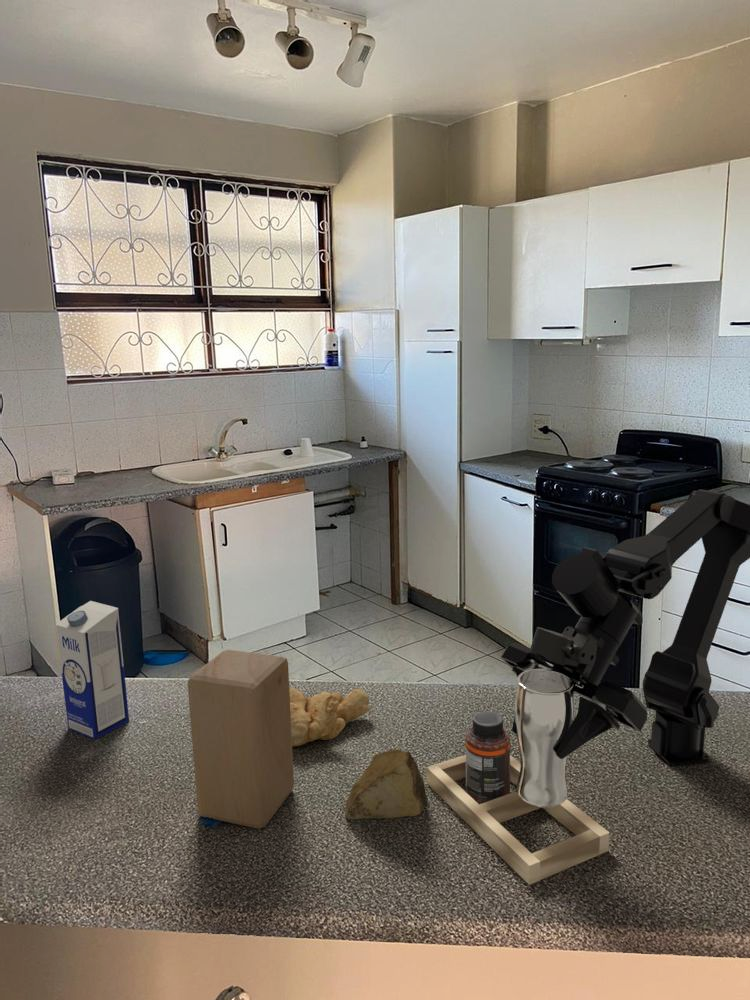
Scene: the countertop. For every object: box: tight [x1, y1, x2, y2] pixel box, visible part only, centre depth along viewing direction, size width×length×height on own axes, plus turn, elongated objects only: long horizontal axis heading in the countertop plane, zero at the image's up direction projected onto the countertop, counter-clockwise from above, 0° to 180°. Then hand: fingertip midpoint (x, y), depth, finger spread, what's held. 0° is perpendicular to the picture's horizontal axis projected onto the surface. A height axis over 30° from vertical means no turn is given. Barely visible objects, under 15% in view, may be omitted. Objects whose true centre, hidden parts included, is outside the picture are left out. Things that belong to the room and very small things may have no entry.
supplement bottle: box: [465, 710, 511, 804], centre depth 100 cm, size 6×6×11 cm
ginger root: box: [289, 685, 371, 747], centre depth 118 cm, size 16×16×8 cm
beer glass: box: [514, 669, 575, 809], centre depth 90 cm, size 7×7×15 cm
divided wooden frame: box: [426, 754, 610, 886], centre depth 97 cm, size 22×12×2 cm, turn 27°
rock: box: [344, 748, 428, 820], centre depth 98 cm, size 11×9×10 cm
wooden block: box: [187, 649, 295, 829], centre depth 98 cm, size 10×10×20 cm
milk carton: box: [55, 600, 130, 741], centre depth 120 cm, size 7×7×20 cm
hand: (536, 744), depth 89 cm, fingers closed on beer glass, 6 cm apart
